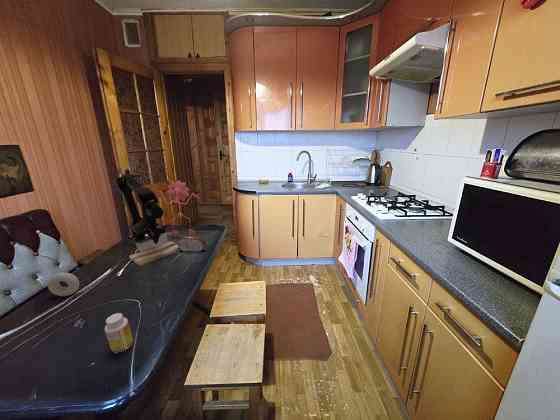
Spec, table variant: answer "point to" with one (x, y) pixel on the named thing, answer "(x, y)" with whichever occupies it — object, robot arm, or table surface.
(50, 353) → the table surface
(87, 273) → the table surface
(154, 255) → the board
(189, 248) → the tin
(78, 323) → the blueberries
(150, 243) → the tongs
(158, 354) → the table surface
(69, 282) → the donut
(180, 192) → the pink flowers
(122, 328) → the supplement bottle
